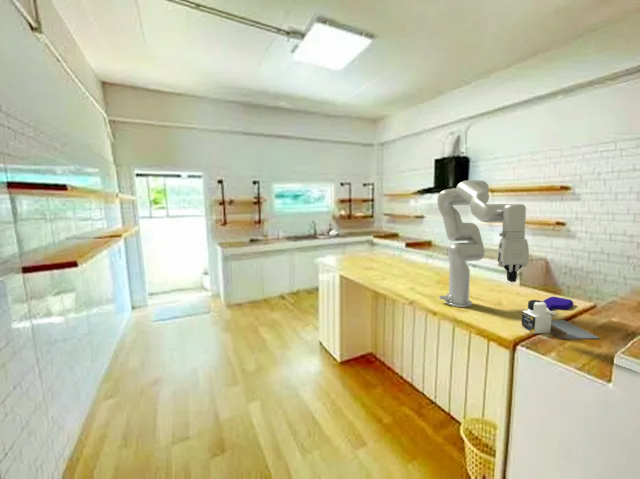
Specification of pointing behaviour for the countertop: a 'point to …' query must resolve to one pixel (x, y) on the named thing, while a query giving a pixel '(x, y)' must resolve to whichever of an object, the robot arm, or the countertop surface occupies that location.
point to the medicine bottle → (536, 317)
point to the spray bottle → (557, 304)
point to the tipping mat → (569, 331)
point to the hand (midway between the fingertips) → (511, 281)
